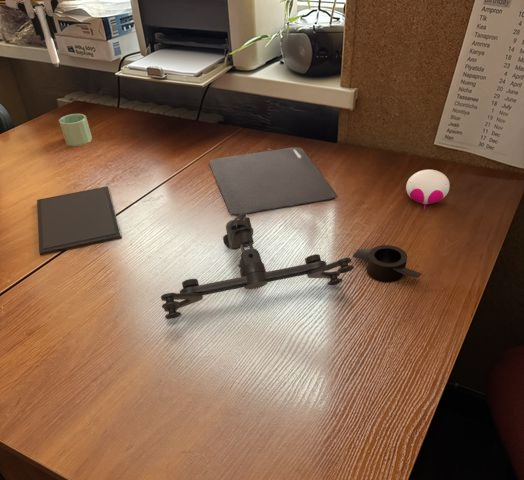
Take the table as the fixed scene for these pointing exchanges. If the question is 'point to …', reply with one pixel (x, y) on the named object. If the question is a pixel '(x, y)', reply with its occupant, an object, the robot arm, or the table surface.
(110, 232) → the tablet
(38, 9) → the stylus
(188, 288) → the tablet mount
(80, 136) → the pen cup
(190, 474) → the table surface
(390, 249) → the black winged ring
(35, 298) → the table surface
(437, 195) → the stress ball
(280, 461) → the table surface
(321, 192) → the mouse pad
